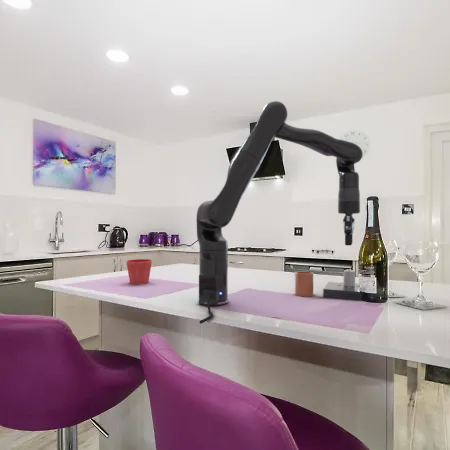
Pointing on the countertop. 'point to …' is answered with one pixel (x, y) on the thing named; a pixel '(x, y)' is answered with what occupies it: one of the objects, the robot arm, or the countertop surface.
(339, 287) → the stove
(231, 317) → the countertop surface
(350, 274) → the stove knob
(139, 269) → the flower pot
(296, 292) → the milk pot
